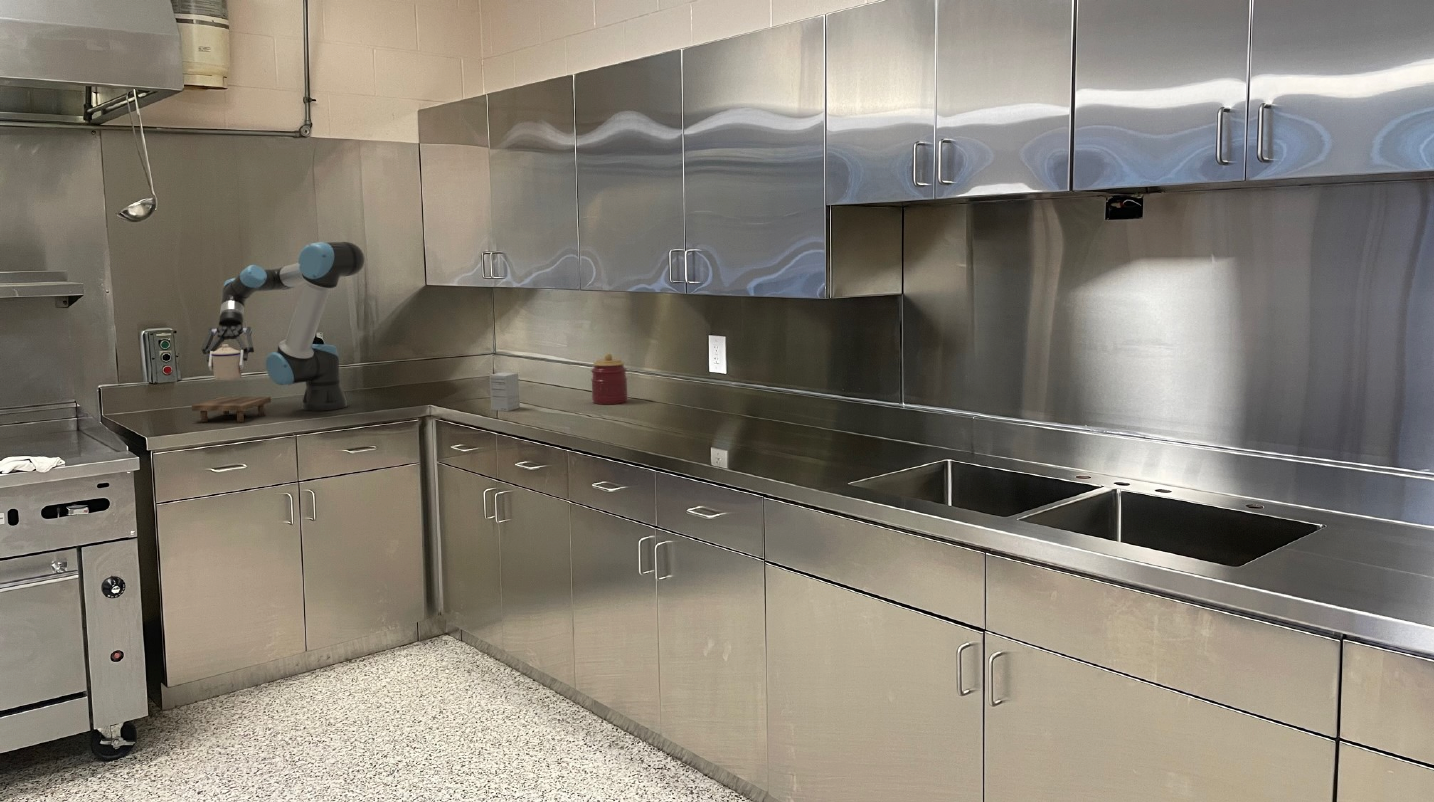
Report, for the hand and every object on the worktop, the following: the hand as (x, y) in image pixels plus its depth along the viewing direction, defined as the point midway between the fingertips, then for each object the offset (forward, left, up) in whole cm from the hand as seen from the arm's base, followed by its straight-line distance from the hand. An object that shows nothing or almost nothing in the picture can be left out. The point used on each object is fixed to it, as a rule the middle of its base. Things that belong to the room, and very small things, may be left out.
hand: (225, 367), depth 360 cm
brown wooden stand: (+1, -3, -18) cm, 18 cm away
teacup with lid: (+2, -3, -4) cm, 5 cm away
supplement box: (-89, -23, -18) cm, 94 cm away
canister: (-123, -39, -18) cm, 131 cm away
